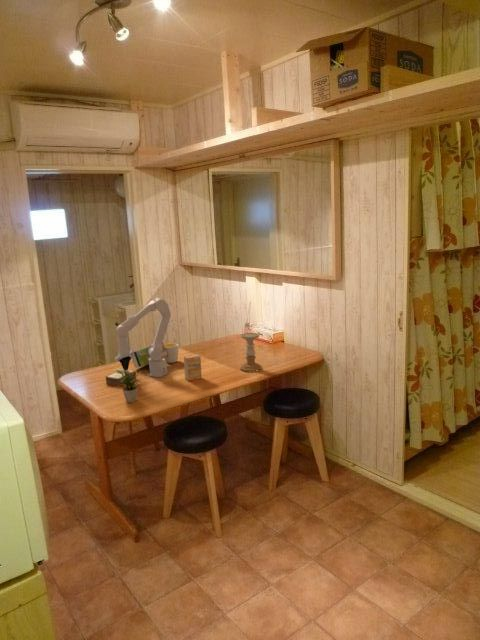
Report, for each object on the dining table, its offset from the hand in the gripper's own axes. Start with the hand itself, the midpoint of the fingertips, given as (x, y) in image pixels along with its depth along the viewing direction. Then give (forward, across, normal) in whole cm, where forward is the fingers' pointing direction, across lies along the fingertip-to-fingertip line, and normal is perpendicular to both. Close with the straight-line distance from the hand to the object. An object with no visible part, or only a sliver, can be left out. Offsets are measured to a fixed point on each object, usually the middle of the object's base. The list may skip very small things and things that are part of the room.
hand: (125, 369), depth 265 cm
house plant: (+5, +25, +21) cm, 33 cm away
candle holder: (+5, -39, +59) cm, 71 cm away
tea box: (0, -22, -7) cm, 23 cm away
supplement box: (+5, -13, +36) cm, 38 cm away
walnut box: (+5, +4, 0) cm, 7 cm away
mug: (+5, -34, +6) cm, 35 cm away
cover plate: (+1, +5, 0) cm, 5 cm away
